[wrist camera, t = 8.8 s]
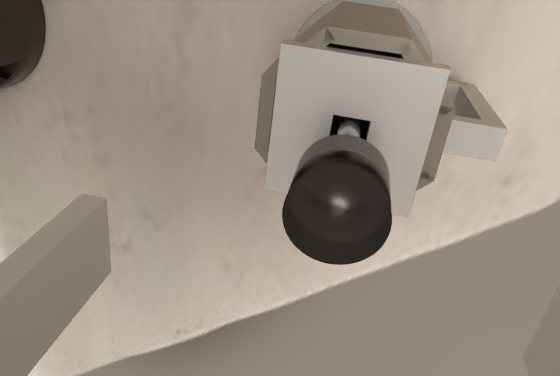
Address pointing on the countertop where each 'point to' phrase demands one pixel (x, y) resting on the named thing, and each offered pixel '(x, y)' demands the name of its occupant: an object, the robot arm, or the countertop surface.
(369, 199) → the plunger
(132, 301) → the countertop surface
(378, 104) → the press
